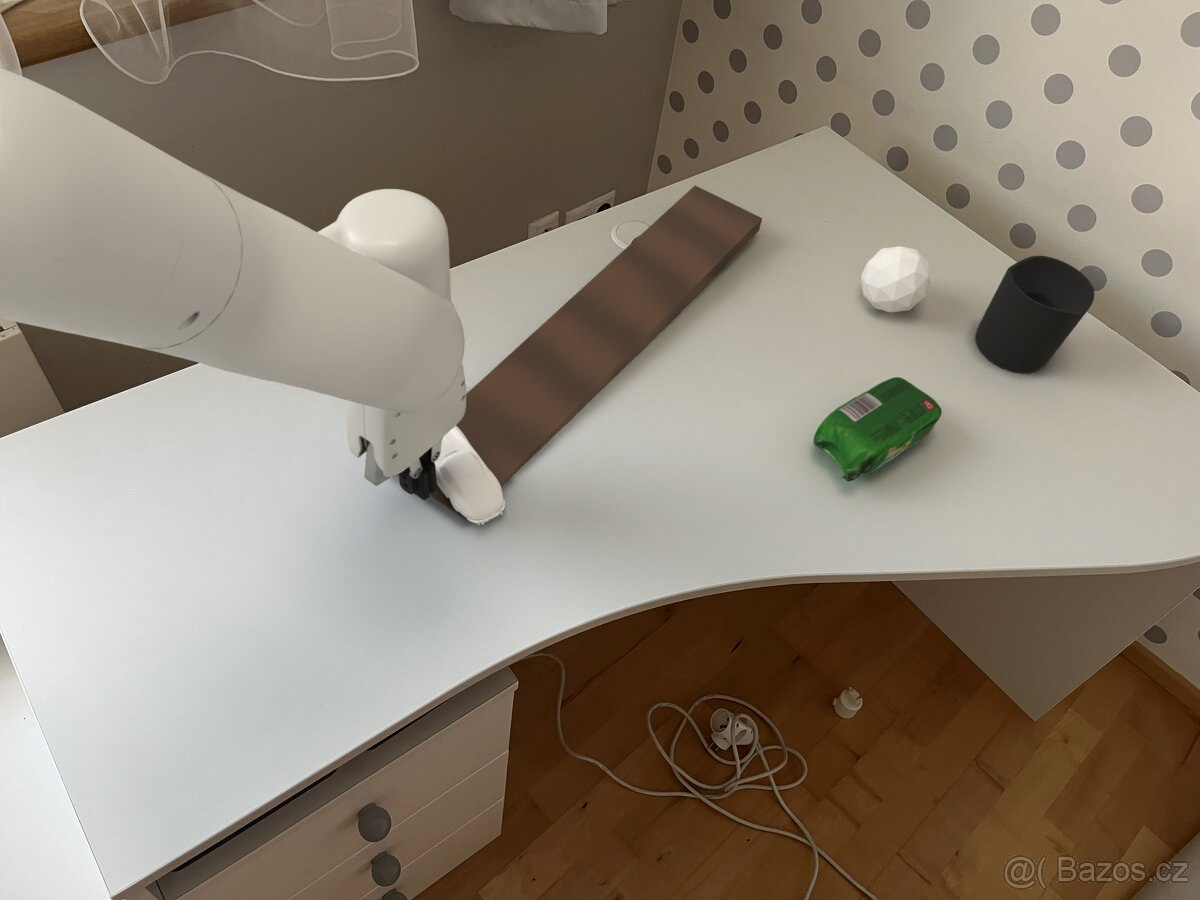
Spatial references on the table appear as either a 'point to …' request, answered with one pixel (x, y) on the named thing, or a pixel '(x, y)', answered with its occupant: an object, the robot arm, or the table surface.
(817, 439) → the snack package
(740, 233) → the ramp
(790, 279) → the table surface
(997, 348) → the pen holder
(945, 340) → the table surface
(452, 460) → the toy car
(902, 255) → the geometric ball
